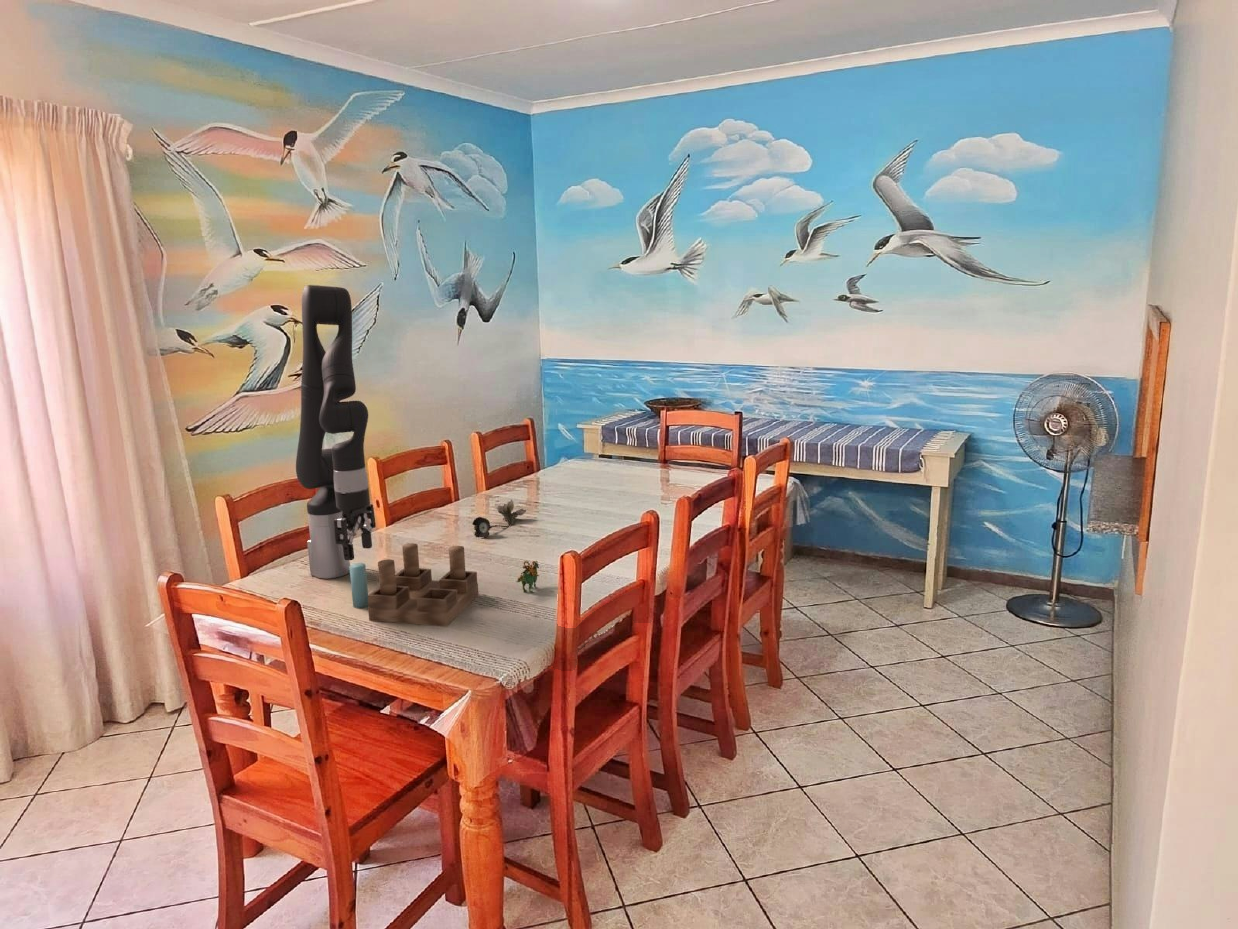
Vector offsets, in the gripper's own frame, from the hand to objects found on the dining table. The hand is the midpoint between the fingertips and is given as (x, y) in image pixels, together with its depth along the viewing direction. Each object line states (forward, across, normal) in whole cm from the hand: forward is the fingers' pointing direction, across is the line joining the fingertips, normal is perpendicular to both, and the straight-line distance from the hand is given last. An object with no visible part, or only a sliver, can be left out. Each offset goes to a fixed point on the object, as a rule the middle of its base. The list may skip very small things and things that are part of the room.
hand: (358, 553), depth 192 cm
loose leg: (+13, 0, -1) cm, 13 cm away
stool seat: (+13, -1, +15) cm, 20 cm away
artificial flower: (+13, -65, +11) cm, 67 cm away
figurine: (+14, -14, +36) cm, 42 cm away
